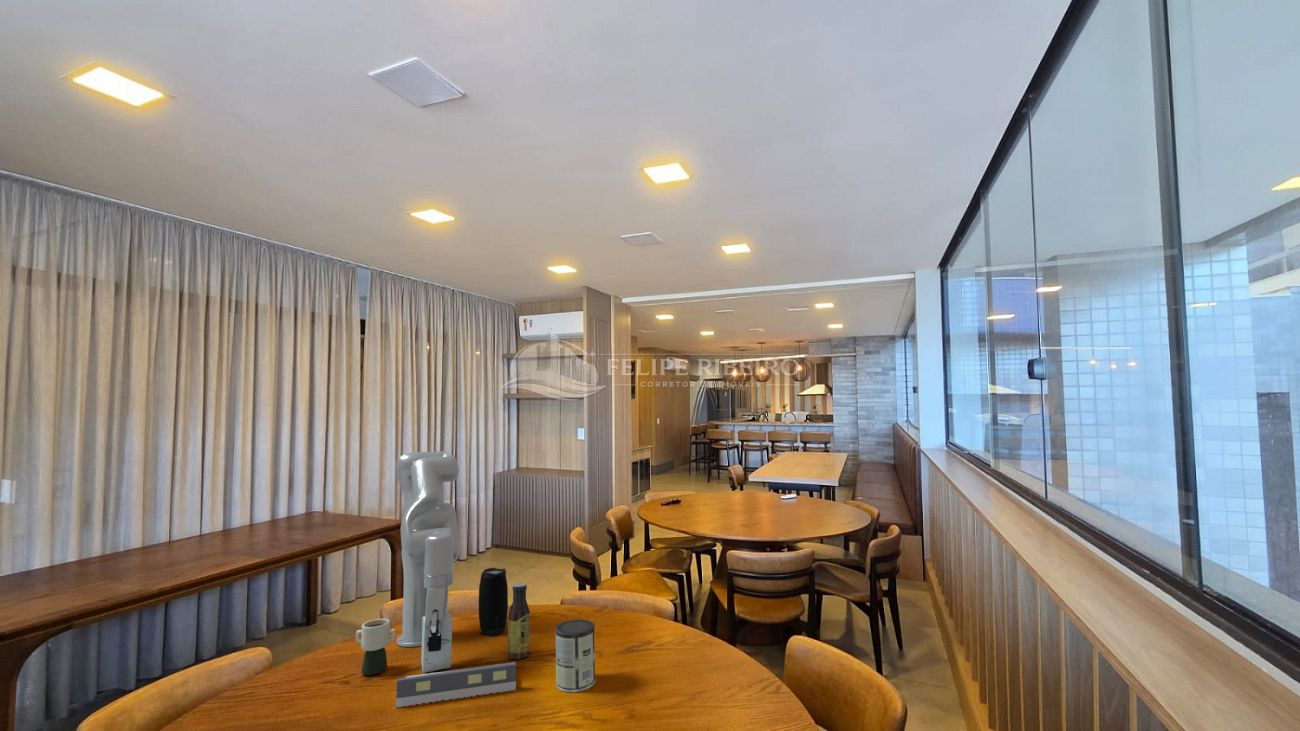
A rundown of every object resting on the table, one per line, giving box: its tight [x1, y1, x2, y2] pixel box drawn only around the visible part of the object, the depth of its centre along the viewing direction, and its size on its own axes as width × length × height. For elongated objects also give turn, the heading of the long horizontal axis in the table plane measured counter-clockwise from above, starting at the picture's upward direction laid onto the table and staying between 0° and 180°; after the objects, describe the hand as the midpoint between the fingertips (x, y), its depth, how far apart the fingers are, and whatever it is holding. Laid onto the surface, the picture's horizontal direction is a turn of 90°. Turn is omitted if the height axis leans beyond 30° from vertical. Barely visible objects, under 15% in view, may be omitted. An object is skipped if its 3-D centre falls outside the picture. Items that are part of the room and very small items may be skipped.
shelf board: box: [395, 661, 517, 709], centre depth 135 cm, size 12×28×2 cm, turn 105°
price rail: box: [395, 662, 517, 699], centre depth 131 cm, size 1×28×4 cm, turn 105°
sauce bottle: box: [507, 582, 531, 660], centre depth 155 cm, size 7×6×20 cm
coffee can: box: [554, 618, 596, 693], centre depth 137 cm, size 10×10×14 cm
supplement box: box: [420, 612, 453, 674], centre depth 146 cm, size 7×7×13 cm
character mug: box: [355, 618, 396, 676], centre depth 146 cm, size 11×7×13 cm, turn 91°
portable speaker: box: [478, 567, 509, 637], centre depth 174 cm, size 9×9×20 cm
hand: (436, 643), depth 146 cm, fingers closed on supplement box, 8 cm apart
